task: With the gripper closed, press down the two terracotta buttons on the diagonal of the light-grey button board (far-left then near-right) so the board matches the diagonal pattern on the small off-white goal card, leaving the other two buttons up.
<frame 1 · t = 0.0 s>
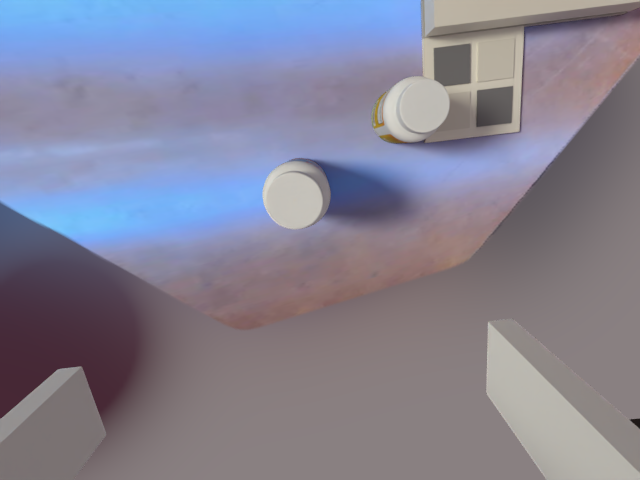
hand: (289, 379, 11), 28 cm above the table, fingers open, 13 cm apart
supplement bottle: (395, 117, 35), on the table
goal card: (471, 87, 34), on the table
pill bottle: (300, 185, 37), on the table
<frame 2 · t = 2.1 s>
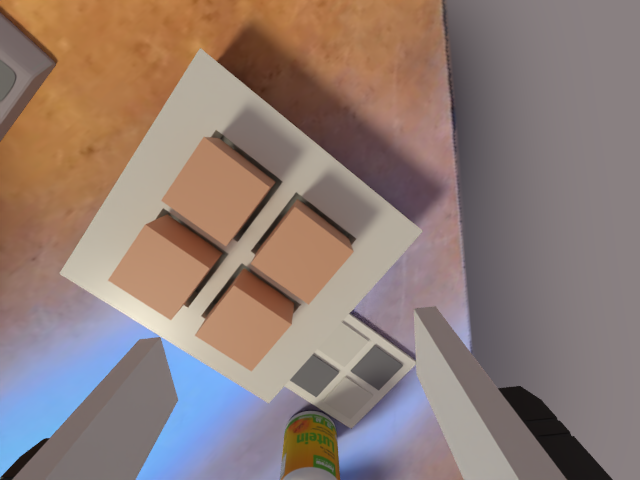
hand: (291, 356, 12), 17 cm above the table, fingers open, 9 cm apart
supplement bottle: (310, 428, 35), on the table
button a: (302, 250, 24), point 5 cm above the table, slide at 0.0 cm
board: (248, 239, 29), on the table
goal card: (344, 368, 33), on the table
button b: (247, 318, 25), point 5 cm above the table, slide at 0.0 cm
button d: (169, 265, 24), point 5 cm above the table, slide at 0.0 cm
button c: (222, 190, 23), point 5 cm above the table, slide at 0.0 cm
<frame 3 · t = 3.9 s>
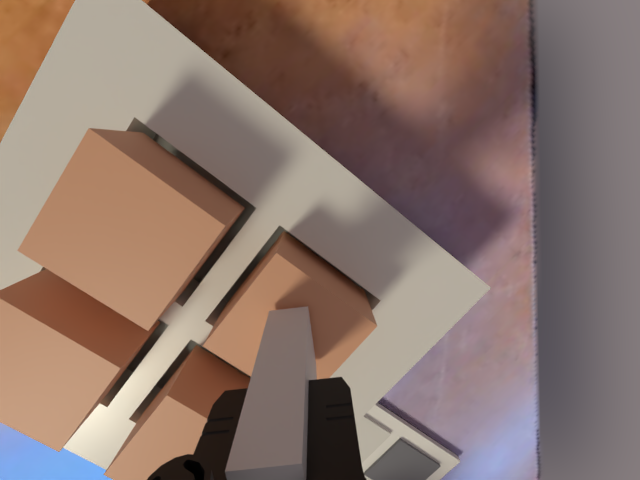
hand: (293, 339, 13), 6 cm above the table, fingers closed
button a: (292, 315, 15), point 4 cm above the table, slide at 0.9 cm, touching gripper
board: (210, 290, 19), on the table
goal card: (354, 467, 23), on the table
button b: (200, 431, 15), point 5 cm above the table, slide at 0.0 cm
button d: (61, 352, 14), point 5 cm above the table, slide at 0.0 cm
button c: (145, 226, 13), point 5 cm above the table, slide at 0.0 cm
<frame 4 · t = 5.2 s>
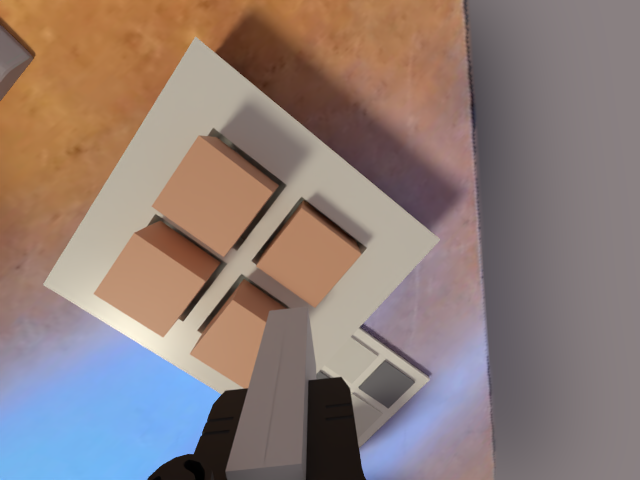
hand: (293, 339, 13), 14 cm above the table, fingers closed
button a: (309, 252, 24), point 3 cm above the table, slide at 1.8 cm
board: (249, 247, 27), on the table
goal card: (351, 384, 30), on the table
button b: (247, 334, 23), point 5 cm above the table, slide at 0.0 cm
button d: (161, 277, 22), point 5 cm above the table, slide at 0.0 cm
button c: (220, 195, 21), point 5 cm above the table, slide at 0.0 cm
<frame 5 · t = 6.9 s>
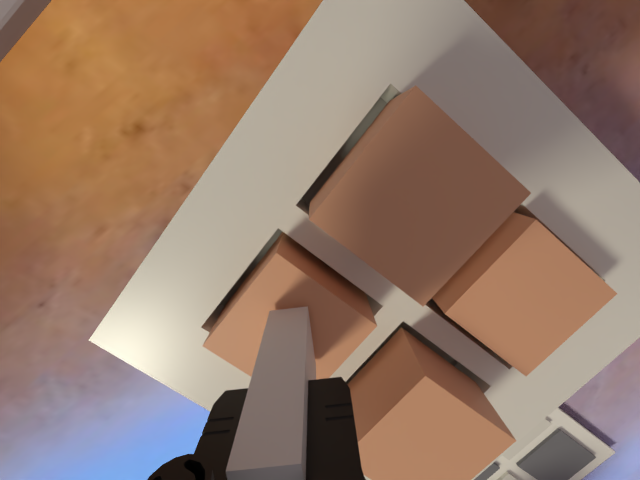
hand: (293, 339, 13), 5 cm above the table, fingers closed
button a: (507, 286, 15), point 3 cm above the table, slide at 1.8 cm
board: (384, 273, 18), on the table
goal card: (503, 458, 22), on the table
button b: (415, 416, 15), point 5 cm above the table, slide at 0.0 cm
button d: (292, 315, 15), point 3 cm above the table, slide at 1.4 cm, touching gripper
button c: (405, 198, 12), point 5 cm above the table, slide at 0.0 cm
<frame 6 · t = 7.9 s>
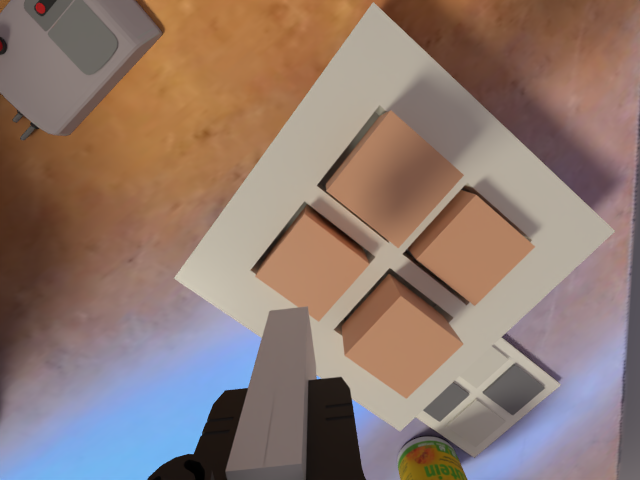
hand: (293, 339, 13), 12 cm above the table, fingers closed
supplement bottle: (425, 455, 30), on the table
button a: (463, 244, 21), point 3 cm above the table, slide at 1.8 cm
board: (379, 240, 25), on the table
goal card: (473, 389, 28), on the table
button b: (397, 334, 21), point 5 cm above the table, slide at 0.0 cm
button d: (312, 261, 22), point 3 cm above the table, slide at 1.8 cm
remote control: (71, 60, 22), on the table
button c: (388, 179, 19), point 5 cm above the table, slide at 0.0 cm
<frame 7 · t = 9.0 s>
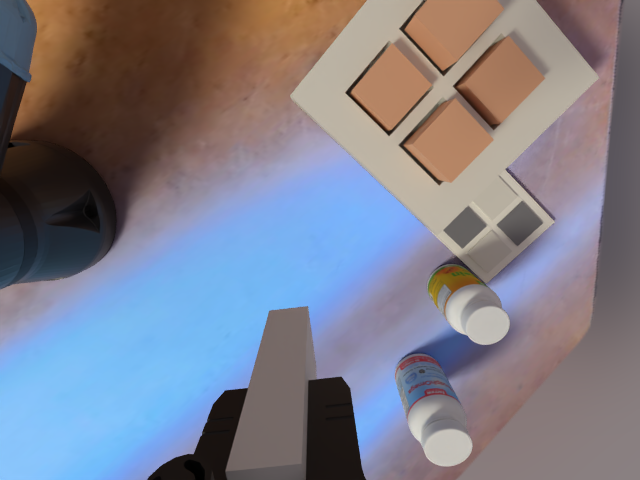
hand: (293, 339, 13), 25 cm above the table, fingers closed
supplement bottle: (447, 283, 39), on the table
button a: (494, 84, 31), point 3 cm above the table, slide at 1.8 cm
board: (430, 93, 34), on the table
goal card: (489, 224, 37), on the table
button b: (446, 142, 30), point 5 cm above the table, slide at 0.0 cm
button d: (388, 90, 31), point 3 cm above the table, slide at 1.8 cm
pill bottle: (416, 371, 43), on the table
button c: (451, 20, 28), point 5 cm above the table, slide at 0.0 cm
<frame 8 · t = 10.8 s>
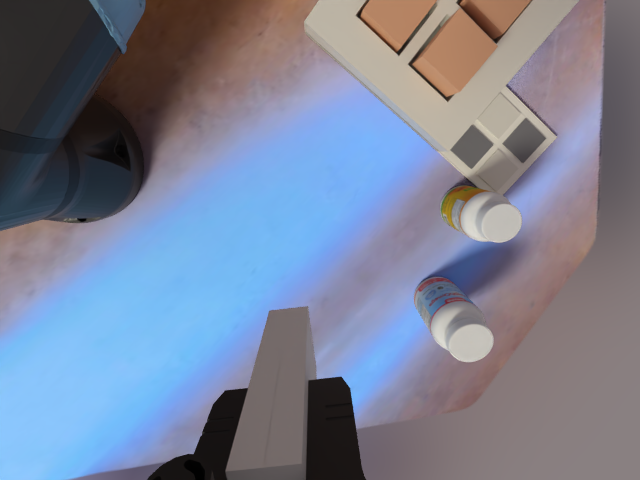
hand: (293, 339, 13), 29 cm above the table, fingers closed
supplement bottle: (459, 206, 42), on the table
board: (434, 17, 36), on the table
goal card: (495, 144, 40), on the table
button b: (452, 55, 32), point 5 cm above the table, slide at 0.0 cm
button d: (395, 11, 33), point 3 cm above the table, slide at 1.8 cm
pill bottle: (433, 295, 45), on the table
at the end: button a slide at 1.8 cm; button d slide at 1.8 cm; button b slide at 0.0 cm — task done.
